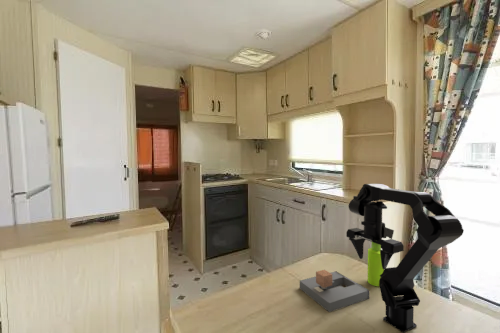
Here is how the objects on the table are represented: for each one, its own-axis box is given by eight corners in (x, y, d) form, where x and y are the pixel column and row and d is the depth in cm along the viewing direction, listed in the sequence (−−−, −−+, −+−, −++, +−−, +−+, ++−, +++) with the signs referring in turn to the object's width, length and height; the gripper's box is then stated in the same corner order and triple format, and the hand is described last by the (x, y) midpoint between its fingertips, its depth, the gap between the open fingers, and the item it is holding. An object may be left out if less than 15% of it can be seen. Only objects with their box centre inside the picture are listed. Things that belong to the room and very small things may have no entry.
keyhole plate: (336, 278, 101) (336, 271, 101) (369, 298, 86) (369, 290, 86) (299, 288, 93) (299, 280, 93) (329, 312, 79) (329, 303, 78)
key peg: (333, 297, 87) (333, 274, 86) (323, 300, 85) (323, 276, 85) (324, 291, 91) (324, 269, 90) (315, 294, 89) (315, 271, 89)
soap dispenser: (379, 278, 101) (379, 230, 100) (386, 287, 94) (387, 236, 93) (364, 277, 101) (365, 230, 101) (370, 286, 95) (371, 235, 94)
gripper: (414, 223, 79) (413, 270, 80) (366, 211, 96) (365, 250, 97) (392, 227, 75) (391, 277, 75) (345, 214, 92) (345, 255, 92)
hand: (372, 263), depth 85 cm, fingers open, 9 cm apart
